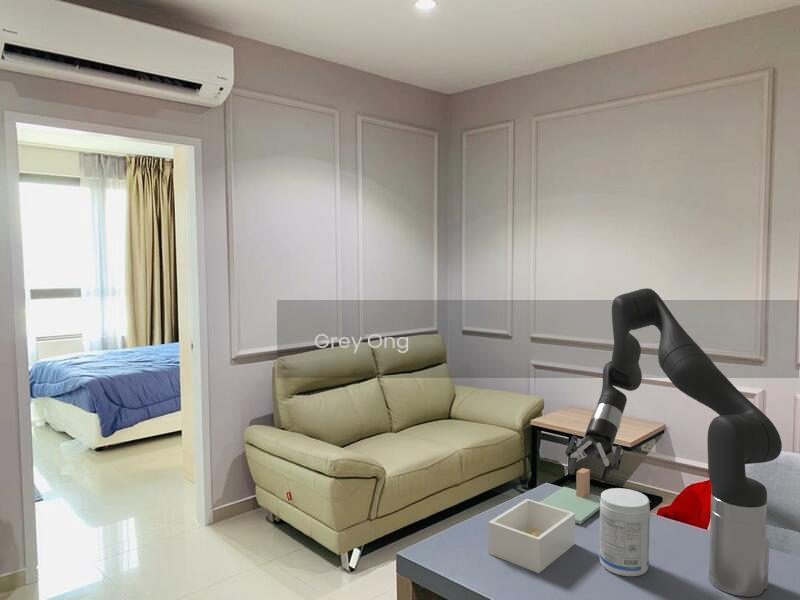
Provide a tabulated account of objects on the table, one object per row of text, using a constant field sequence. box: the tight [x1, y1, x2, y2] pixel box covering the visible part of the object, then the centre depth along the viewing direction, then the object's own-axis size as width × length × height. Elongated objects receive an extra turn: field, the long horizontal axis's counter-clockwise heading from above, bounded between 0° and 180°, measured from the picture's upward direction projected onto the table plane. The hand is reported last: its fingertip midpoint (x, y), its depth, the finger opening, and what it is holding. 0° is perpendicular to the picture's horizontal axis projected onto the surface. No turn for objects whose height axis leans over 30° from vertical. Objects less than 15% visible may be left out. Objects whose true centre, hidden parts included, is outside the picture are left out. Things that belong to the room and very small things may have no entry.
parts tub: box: [488, 498, 576, 574], centre depth 129 cm, size 16×12×7 cm
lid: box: [539, 467, 601, 525], centre depth 150 cm, size 16×12×8 cm
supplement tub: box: [599, 487, 651, 577], centre depth 121 cm, size 10×10×15 cm
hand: (585, 477), depth 156 cm, fingers open, 8 cm apart
